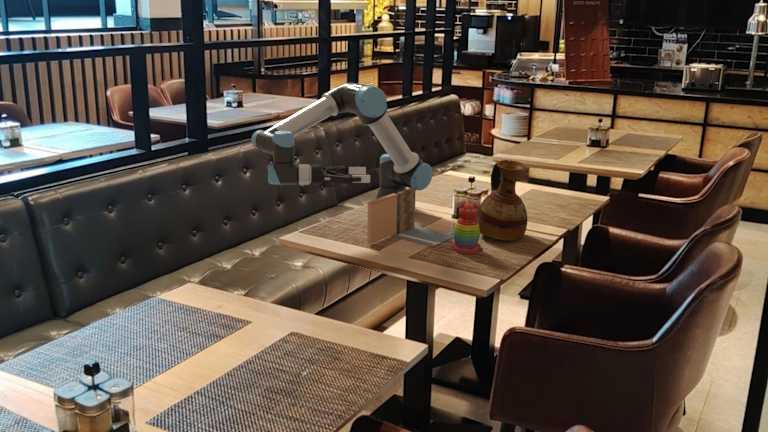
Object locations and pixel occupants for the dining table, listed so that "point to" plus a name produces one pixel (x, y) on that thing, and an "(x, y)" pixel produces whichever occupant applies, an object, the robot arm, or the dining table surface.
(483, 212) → the ceramic pitcher
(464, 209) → the stacking bear
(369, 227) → the tan square panel
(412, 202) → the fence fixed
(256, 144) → the robot arm
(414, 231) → the card
